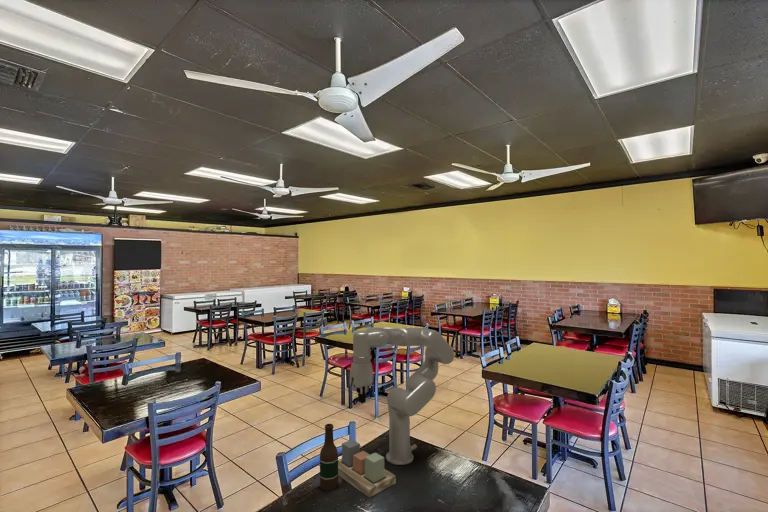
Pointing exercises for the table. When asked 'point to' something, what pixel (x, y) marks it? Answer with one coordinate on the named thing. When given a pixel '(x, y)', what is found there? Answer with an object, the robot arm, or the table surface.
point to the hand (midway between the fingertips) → (361, 402)
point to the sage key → (374, 467)
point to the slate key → (349, 451)
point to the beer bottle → (328, 461)
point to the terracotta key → (359, 462)
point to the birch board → (365, 480)
